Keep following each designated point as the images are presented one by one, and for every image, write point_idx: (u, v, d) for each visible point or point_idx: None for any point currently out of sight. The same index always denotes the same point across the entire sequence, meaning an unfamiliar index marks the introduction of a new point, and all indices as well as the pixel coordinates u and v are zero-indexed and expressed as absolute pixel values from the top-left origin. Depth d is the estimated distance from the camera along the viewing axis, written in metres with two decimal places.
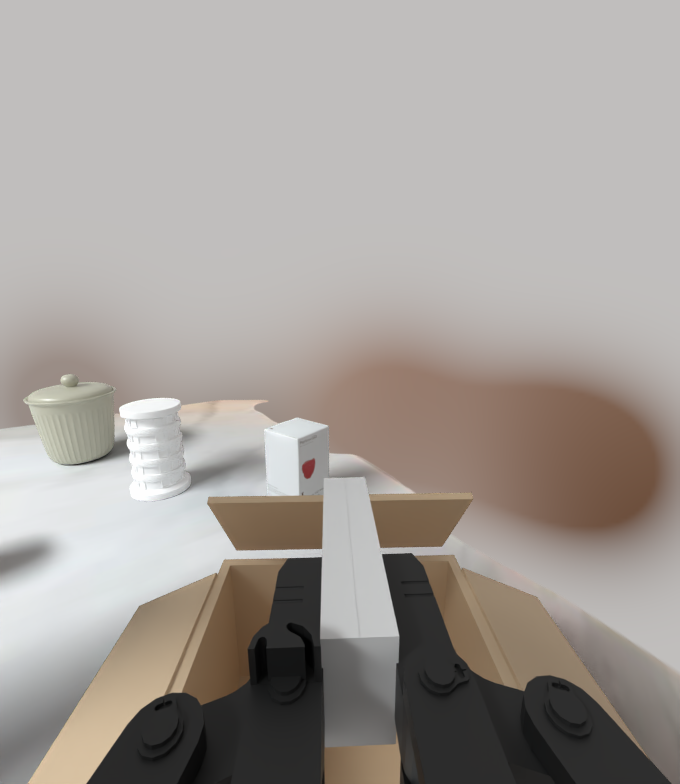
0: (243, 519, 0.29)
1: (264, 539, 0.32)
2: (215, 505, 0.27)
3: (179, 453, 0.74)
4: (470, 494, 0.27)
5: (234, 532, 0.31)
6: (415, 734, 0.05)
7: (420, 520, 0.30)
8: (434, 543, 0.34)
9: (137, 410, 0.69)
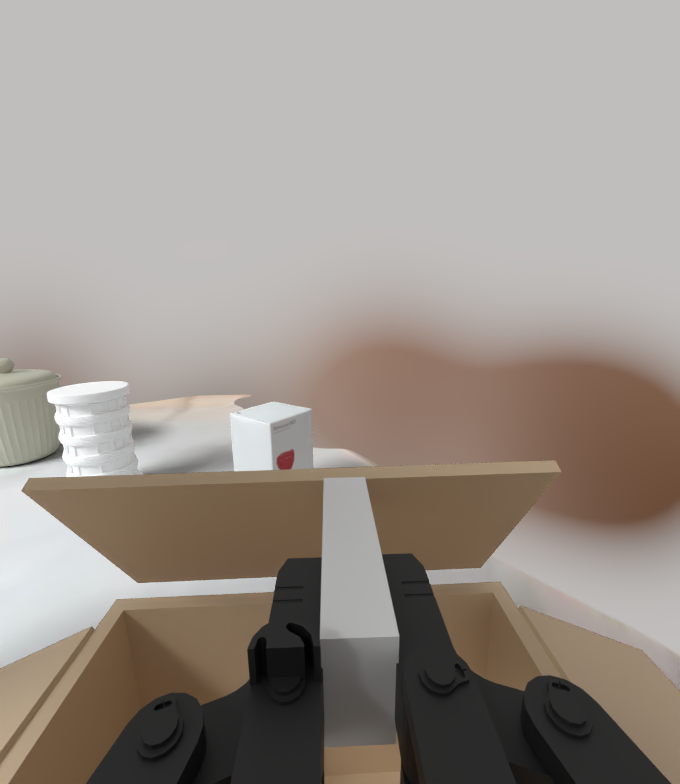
0: (118, 525, 0.15)
1: (177, 563, 0.19)
2: (43, 495, 0.13)
3: (127, 448, 0.60)
4: (554, 463, 0.14)
5: (116, 550, 0.17)
6: (415, 734, 0.05)
7: (451, 520, 0.16)
8: (469, 562, 0.21)
9: (69, 393, 0.54)
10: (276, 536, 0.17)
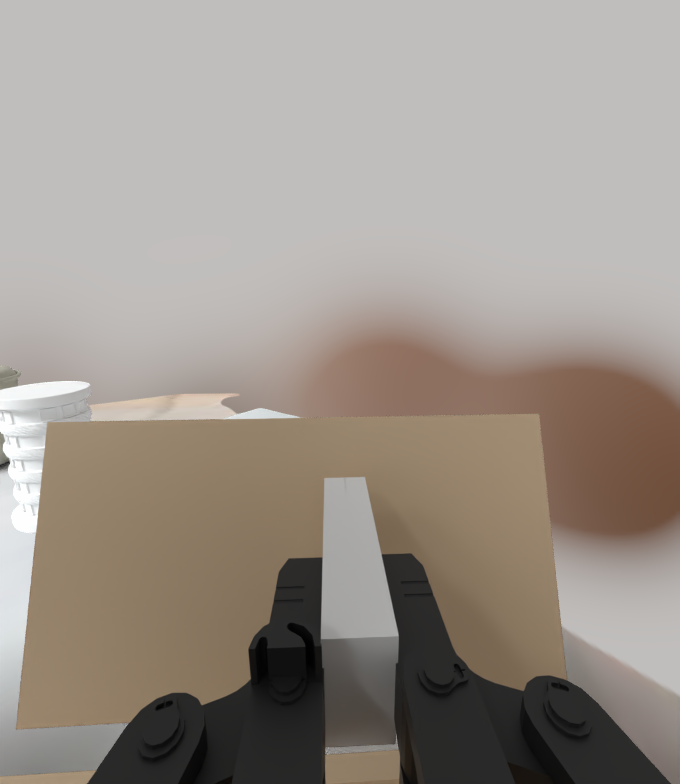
0: (95, 503, 0.14)
1: (114, 634, 0.13)
2: (60, 432, 0.14)
3: None
4: None
5: (54, 581, 0.13)
6: (414, 734, 0.05)
7: (469, 515, 0.14)
8: (542, 670, 0.14)
9: (14, 396, 0.45)
10: (266, 545, 0.14)
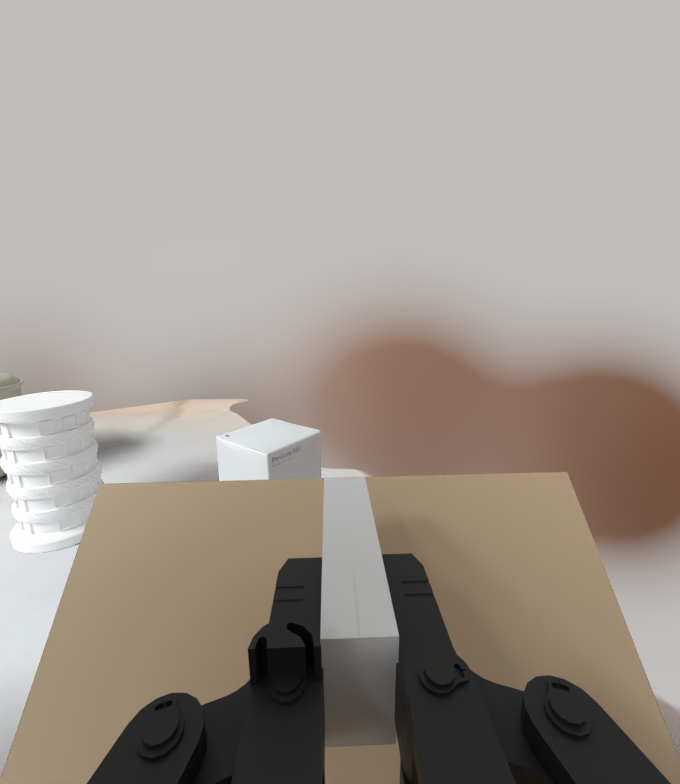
0: (128, 565, 0.13)
1: (120, 732, 0.11)
2: (109, 493, 0.15)
3: (89, 475, 0.48)
4: None
5: (66, 657, 0.12)
6: (414, 733, 0.05)
7: (520, 577, 0.13)
8: None
9: (11, 408, 0.43)
10: None
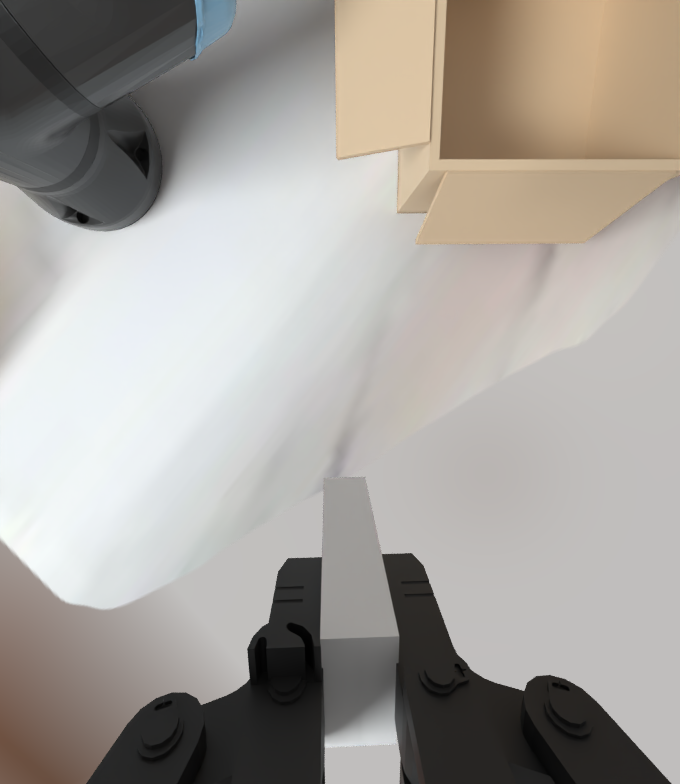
0: None
1: None
2: None
3: None
4: None
5: None
6: (415, 734, 0.05)
7: None
8: None
9: None
10: None
